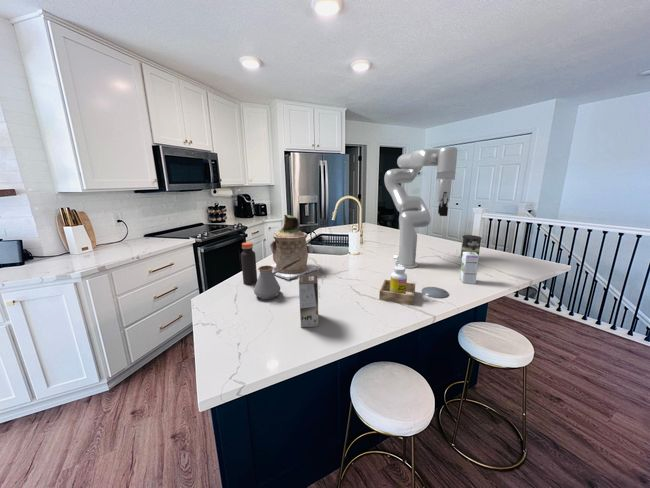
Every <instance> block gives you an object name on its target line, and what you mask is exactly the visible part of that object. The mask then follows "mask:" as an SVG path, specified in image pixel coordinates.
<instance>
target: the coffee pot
mask: <svg viewBox="0 0 650 488" xmlns="http://www.w3.org/2000/svg"><path fill="white" fill-rule="evenodd" d="M298 261H300V259H299V260H297V261H294V262H292V263H290V264H288V265H286V266H284V267H283V268H281V269H279V270H277V271H275V272H273V273H272V269H273V266H270V265H261V266H259V267H257V271H259V275H258V276H257V282H256V283H255V286H254V289H253V293H254V294H255V295H256V297H258V298H259V299H261V300H270V299H274V298H276V297H277V296H278V294H279V293H280V291H281V286H280V283H279V282H278V280H277V278H276V275H274V274H276V273H278V272H279V271H281V270H283V269H285V268H288V267H290V266H292V265H293V264H294V263H296V262H298ZM300 263H301V262H300Z"/></svg>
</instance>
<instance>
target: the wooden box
mask: <svg viewBox="0 0 650 488" xmlns="http://www.w3.org/2000/svg"><path fill="white" fill-rule="evenodd" d="M382 283H383V284H382V285H381V288H380V289H379V297H378V300H379V301H386V302H391V303H395V304H396V303H398V304H403V305H404V304H405V305H409V306H413V305H414V301H415V300H414V299H415V295H416V294H415V293H416V283H414V282H407V284H406V292H408V293H409V292H410V293H411V294H407V293H406V294H402V293H395V292H390V291H389V290H390V283H391V279H390V280H389V279H384V281H383V282H382ZM387 289H389V290H388V291H387Z"/></svg>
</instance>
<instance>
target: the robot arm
mask: <svg viewBox="0 0 650 488" xmlns="http://www.w3.org/2000/svg"><path fill="white" fill-rule="evenodd" d="M457 160H458V148H457V147H455V146H445V147H442V148H439V149H438V148H437V149H436V148H425V149H424V148H423V149H417V150H413V152H408V153H407V152H406V153H403V154H401V155H400V156H398V158H397V161H396V164H397V166H398V167H399V168H392V169H389V170H387V171H386V172H385V174H384V180H383V181H384V186H385V188H386V190H387V191H388V193H389V195H390V197H391V199H392V201H393V204H394V206H395V209H396V211H397V212H399V213H400V215H399V217H398V223H399V244H398V246H399V247H398V255H397V254H394V255H393V260H396V261H395V266H402V267H405V269H414V268H417V267H418V266H419V263H418V262H417V261H416V257H417V243H418V233H417V232H416V230H415V229H416V228H425V227H428V226H429V225H430V224H431V221H432V220H431V219H432V218H431V213H430V212H429V209H428V208H427V205H426V203H425V201H424V200H423V199H422V198H421V197H420V196H417V195H408V193H407V192H406V190H405V188H404V187H403V186H402V185H400V184H410V183H412V182H414V181H415V179H416V177H417V176H418V175H419V173H420V172H421V170H422V168H423V167H437V168H436V181H438V182H437V193H436V194H437V195H436V201H437V203H439V204H438V210H437V211H438V212H437V213H438V215H439V216H440V217H447V216H448V211H449V203H450V200H451V192H452V181H453V180H456V171H457V170H456V169H457Z"/></svg>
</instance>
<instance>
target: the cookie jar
mask: <svg viewBox="0 0 650 488" xmlns="http://www.w3.org/2000/svg"><path fill="white" fill-rule="evenodd" d="M298 226H299V219H298V217H296V216H293V215H290V214H286V213H285V214H284V221H283V226H282V228H280V229H279V230H278V231H275V232H274V233H273V239H274V240H273V241H271V243H270V244H269V247H270V251H271V252H272V259H273V262H274V264H270V265H269V266H273V269H272V273H273V272H275V271H277V270H279V269H281V268H283V267H284V266H286V265H288V264H290V263H292V262H294V261H297V260H299V259H300V261H298V262H296V263H294V264H293V265H292V266H290V267H288V268H285V269H283V270H281V271H279V272H278V273H276V274H274V276H275V277H276V276H277V277H279V278H283V279H285V280H287V281H290V279H294V278H298V277H300V275H306V274H309V273H311V272H315V271H316V272H317V271H319V270H320V268H321V266H319V265H316V264H312V263H308V259H309V251H308V245H307V238H308V234H307V233H306V232H303V231H301V230H299V229H298ZM300 262H301V263H300Z"/></svg>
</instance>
